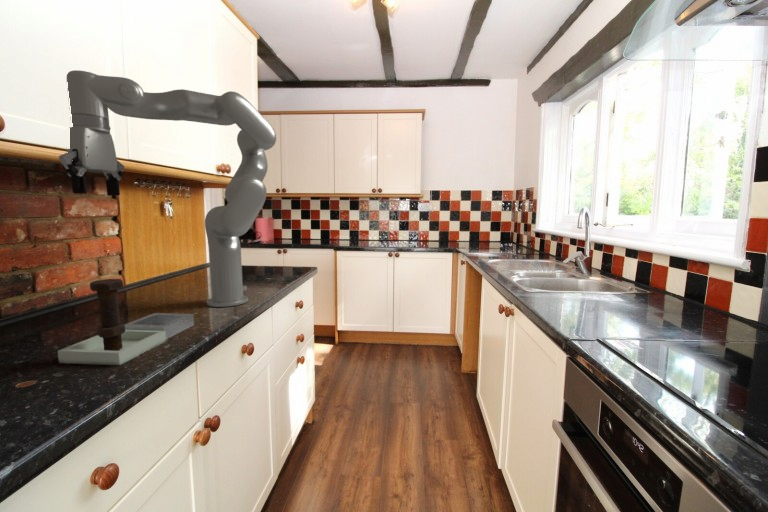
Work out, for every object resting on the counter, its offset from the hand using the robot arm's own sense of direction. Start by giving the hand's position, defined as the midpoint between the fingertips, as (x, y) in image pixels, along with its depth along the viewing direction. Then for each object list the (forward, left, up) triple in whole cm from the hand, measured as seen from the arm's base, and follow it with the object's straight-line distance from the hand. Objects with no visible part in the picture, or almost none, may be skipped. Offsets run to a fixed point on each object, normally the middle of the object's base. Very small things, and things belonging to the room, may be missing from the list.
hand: (97, 194), depth 92 cm
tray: (+18, +18, -34) cm, 43 cm away
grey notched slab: (+5, +18, -34) cm, 39 cm away
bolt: (+19, +18, -34) cm, 43 cm away
